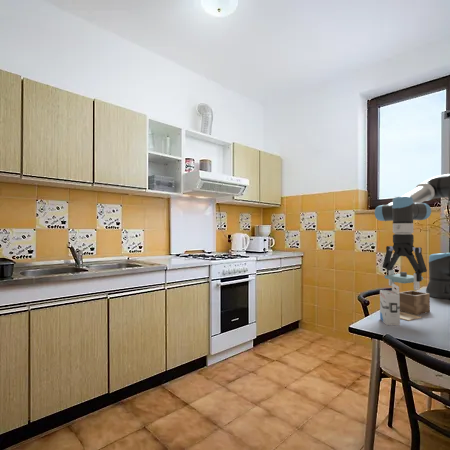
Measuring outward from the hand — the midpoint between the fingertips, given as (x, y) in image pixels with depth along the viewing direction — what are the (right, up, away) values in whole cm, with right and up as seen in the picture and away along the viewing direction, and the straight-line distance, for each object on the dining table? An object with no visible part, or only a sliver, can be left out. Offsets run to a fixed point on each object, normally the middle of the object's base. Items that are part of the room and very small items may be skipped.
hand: (403, 287), depth 128 cm
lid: (0, +2, 0) cm, 2 cm away
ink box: (-10, -12, -8) cm, 18 cm away
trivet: (0, -12, 0) cm, 12 cm away
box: (+9, -12, +8) cm, 17 cm away
